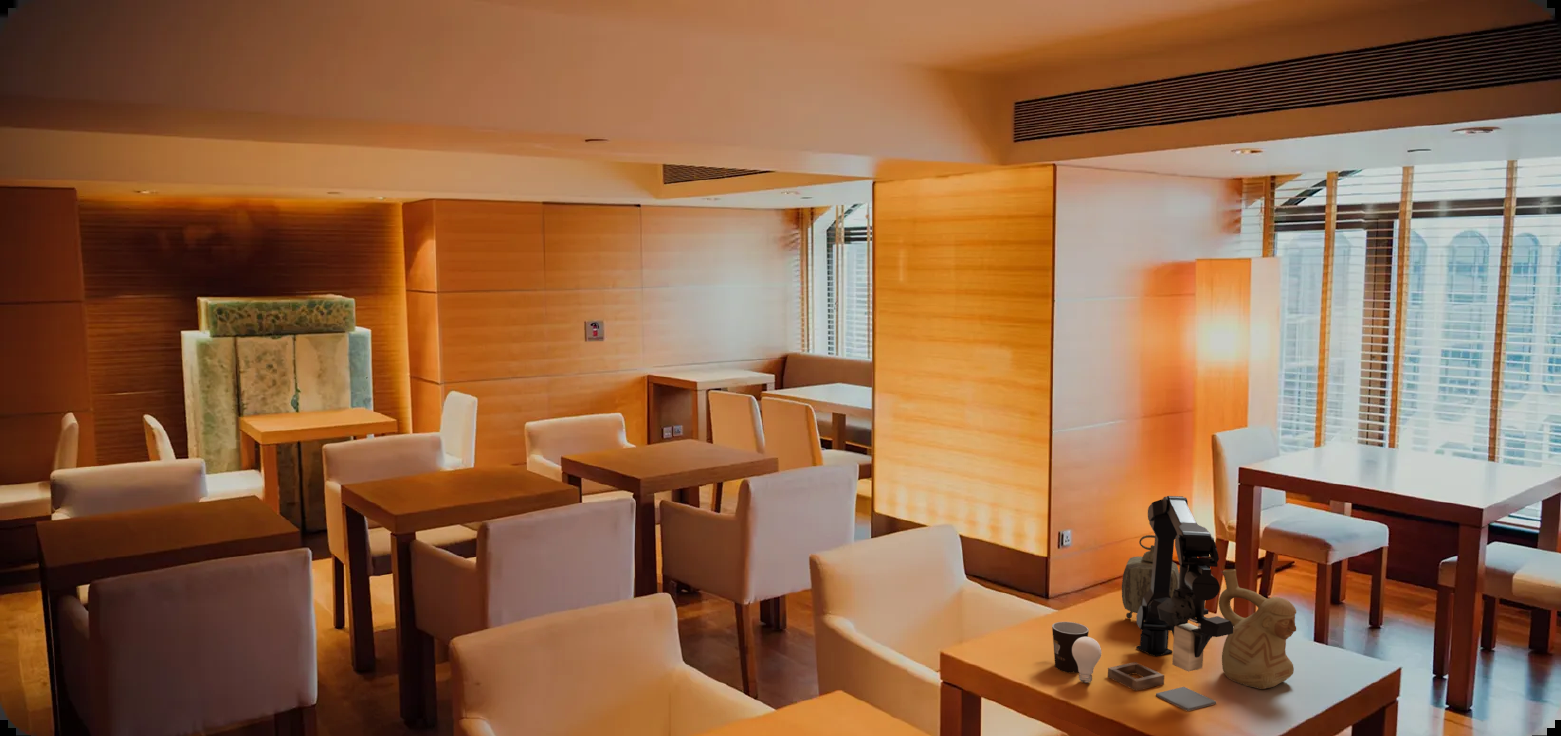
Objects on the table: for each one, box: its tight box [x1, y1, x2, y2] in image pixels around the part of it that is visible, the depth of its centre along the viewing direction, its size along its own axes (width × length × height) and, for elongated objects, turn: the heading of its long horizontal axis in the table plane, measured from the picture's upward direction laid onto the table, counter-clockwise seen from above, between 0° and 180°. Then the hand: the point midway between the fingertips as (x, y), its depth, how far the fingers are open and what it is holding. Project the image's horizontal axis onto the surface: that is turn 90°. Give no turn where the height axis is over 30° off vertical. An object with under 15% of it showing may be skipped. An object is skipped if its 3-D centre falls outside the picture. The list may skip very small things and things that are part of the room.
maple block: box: [1171, 622, 1205, 673], centre depth 230 cm, size 4×4×9 cm
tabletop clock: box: [1121, 534, 1179, 619], centre depth 279 cm, size 14×9×25 cm, turn 66°
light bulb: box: [1072, 636, 1102, 684], centre depth 239 cm, size 7×7×11 cm
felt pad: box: [1155, 686, 1217, 712], centre depth 231 cm, size 9×9×1 cm
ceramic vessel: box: [1218, 568, 1297, 690], centre depth 243 cm, size 17×20×25 cm
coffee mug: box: [1051, 621, 1090, 674], centre depth 250 cm, size 12×9×10 cm
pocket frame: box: [1107, 661, 1165, 691], centre depth 242 cm, size 9×9×2 cm
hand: (1188, 653), depth 230 cm, fingers closed on maple block, 4 cm apart
